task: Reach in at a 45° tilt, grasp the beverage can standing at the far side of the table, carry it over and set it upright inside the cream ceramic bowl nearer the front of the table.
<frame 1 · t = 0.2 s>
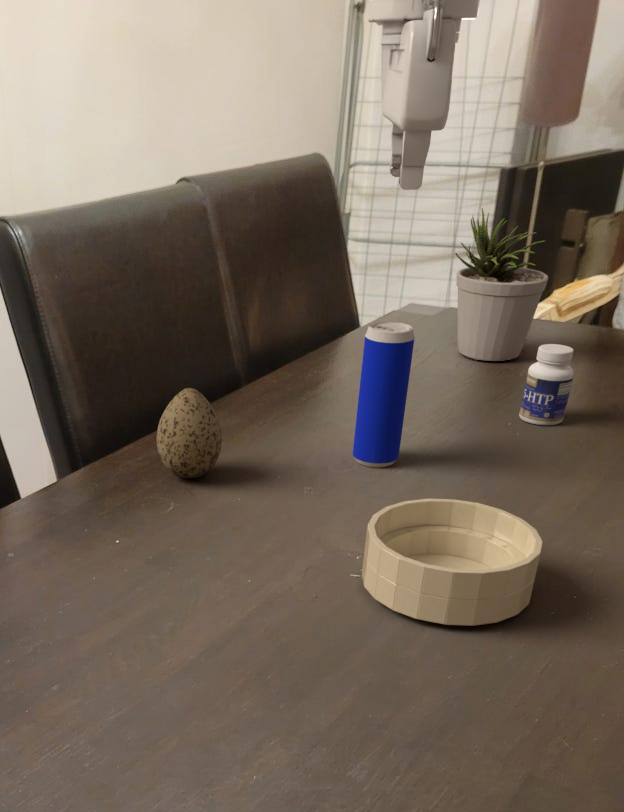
hand: (404, 182, 86), 30 cm above the table, tool pointing down, fingers open, 8 cm apart
beverage can: (374, 461, 110), on the table
bowl: (443, 589, 84), on the table
decorative egg: (188, 478, 107), on the table
potted plant: (486, 355, 145), on the table
pill bottle: (540, 420, 120), on the table
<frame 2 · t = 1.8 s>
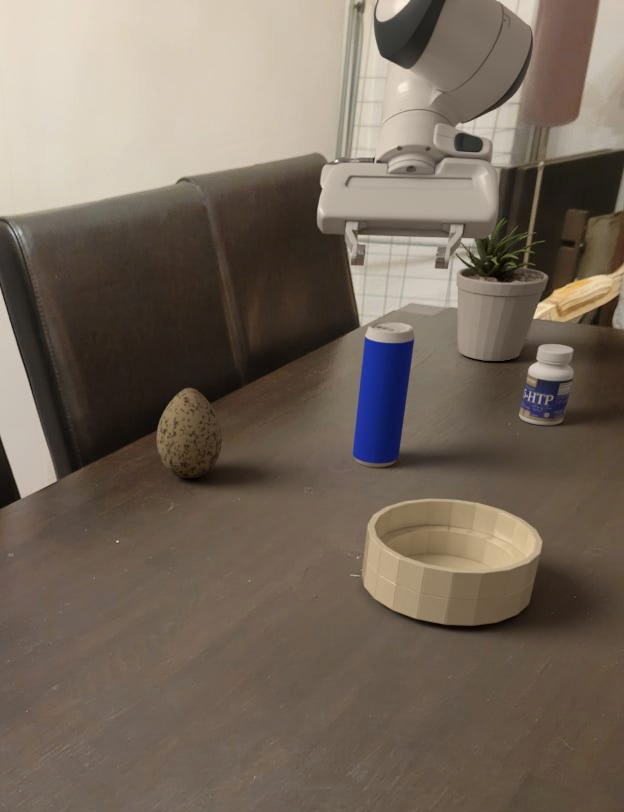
hand: (399, 264, 109), 19 cm above the table, tool tilted 45°, fingers open, 8 cm apart
nothing on the table moved.
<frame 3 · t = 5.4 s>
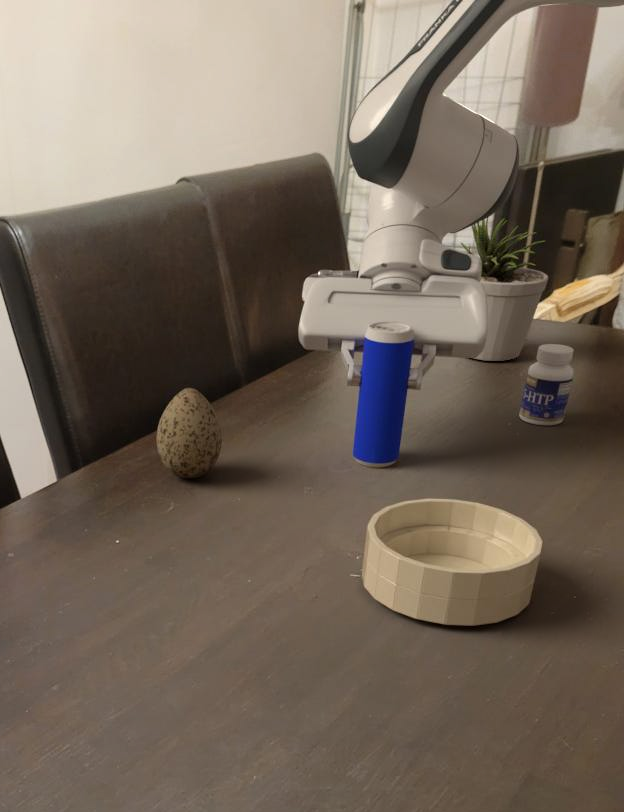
hand: (384, 385, 104), 9 cm above the table, tool tilted 45°, fingers closed on beverage can, 5 cm apart
beverage can: (374, 461, 110), on the table, touching gripper
everything else where it was.
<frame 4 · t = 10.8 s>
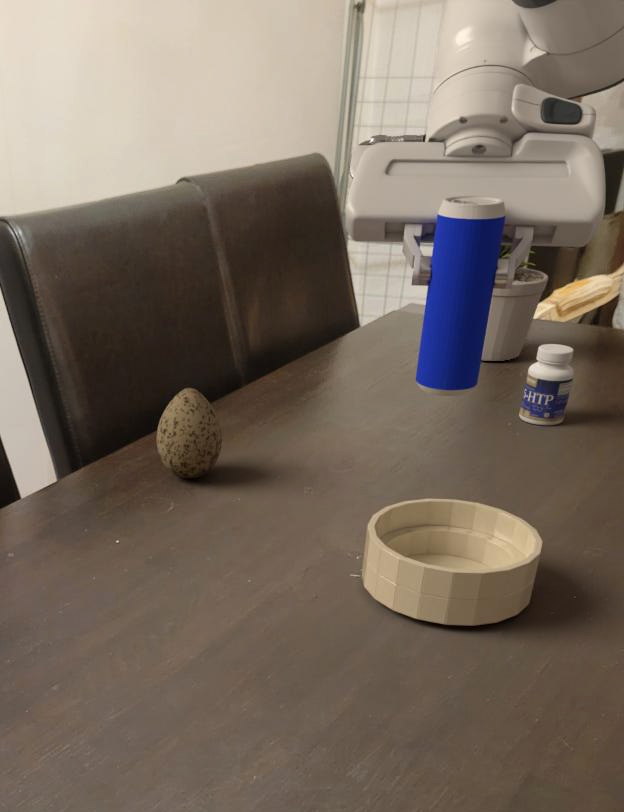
hand: (461, 283, 78), 24 cm above the table, tool tilted 45°, fingers closed on beverage can, 5 cm apart
beverage can: (444, 390, 83), point 15 cm above the table, touching gripper
everything else where it was.
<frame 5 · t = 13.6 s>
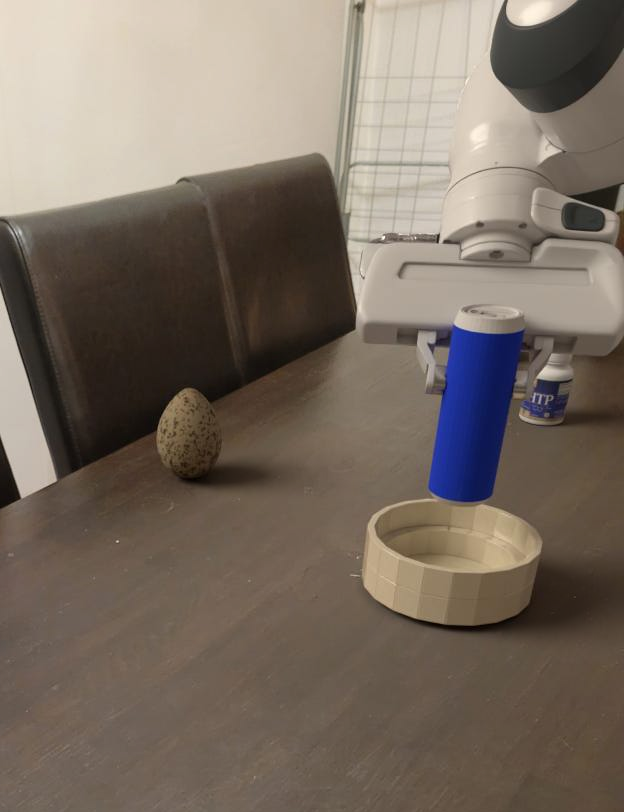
hand: (478, 394, 74), 18 cm above the table, tool tilted 45°, fingers closed on beverage can, 5 cm apart
beverage can: (458, 498, 80), point 9 cm above the table, touching gripper
everything else where it was.
when the fingers open (9 cm above the table, at t = 16.3 s): beverage can stays where it is, resting on bowl.
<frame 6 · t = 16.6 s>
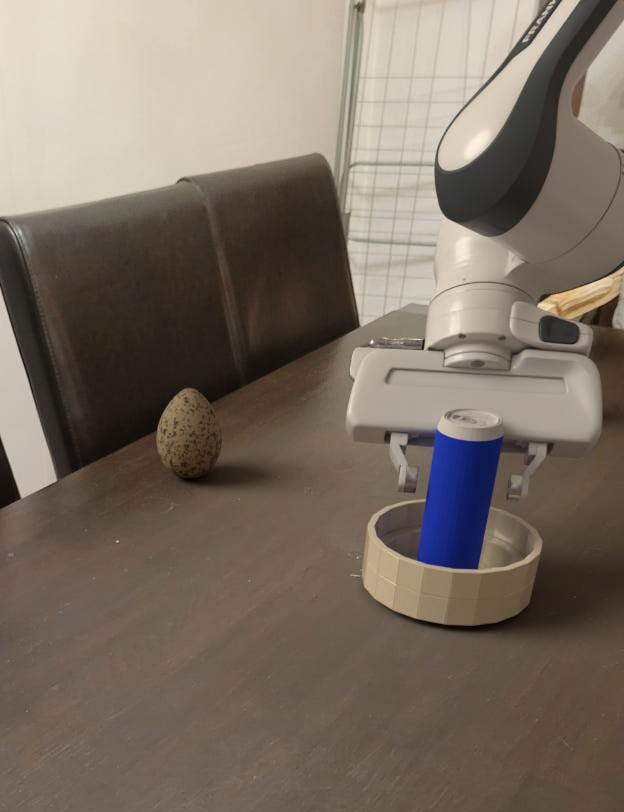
hand: (460, 494, 79), 9 cm above the table, tool tilted 45°, fingers open, 7 cm apart
beverage can: (443, 585, 84), resting on bowl
everything else where it was.
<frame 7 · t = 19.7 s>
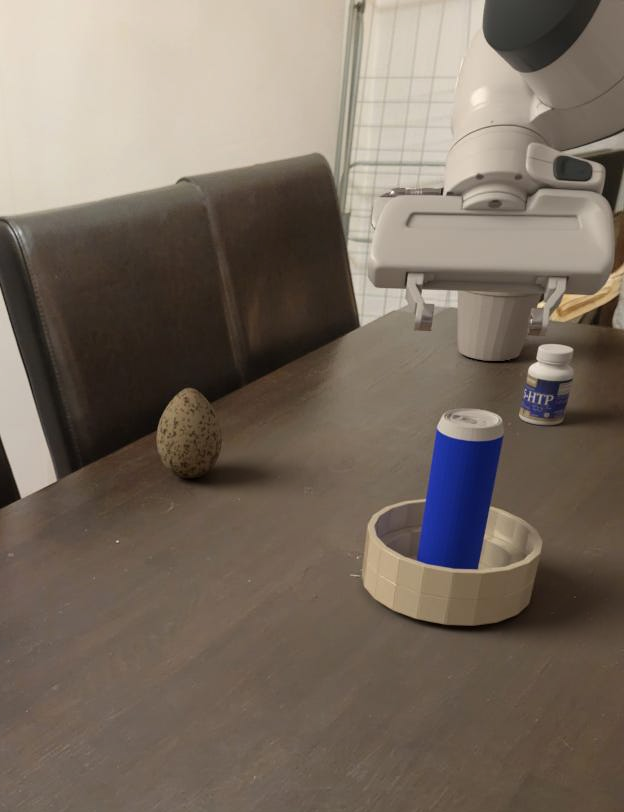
hand: (479, 330, 82), 20 cm above the table, tool tilted 45°, fingers open, 8 cm apart
nothing on the table moved.
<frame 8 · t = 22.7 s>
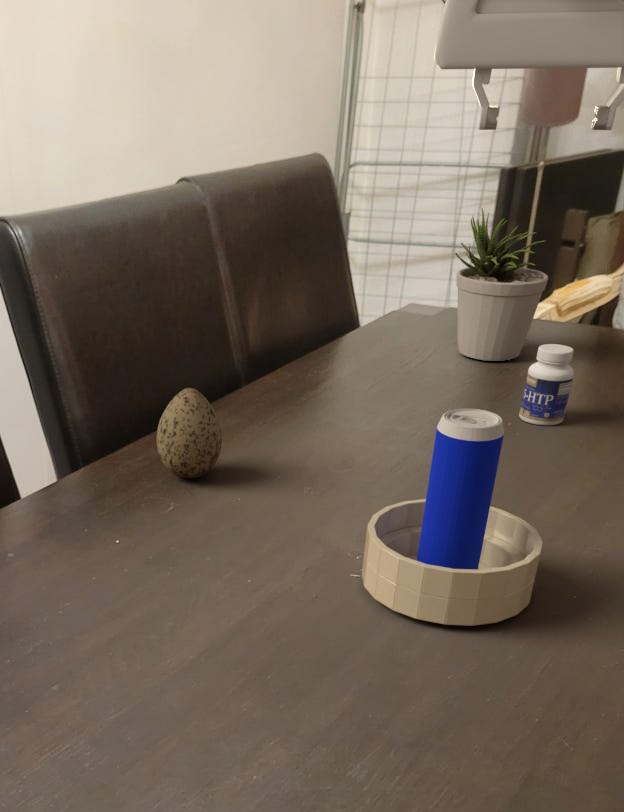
hand: (543, 129, 84), 34 cm above the table, tool pointing down, fingers open, 8 cm apart
nothing on the table moved.
at the end: beverage can inside the target area in the bowl (0.1 cm from its centre), point 0.4 cm above the bowl's base; beverage can tilted 0°; the gripper is holding nothing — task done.
